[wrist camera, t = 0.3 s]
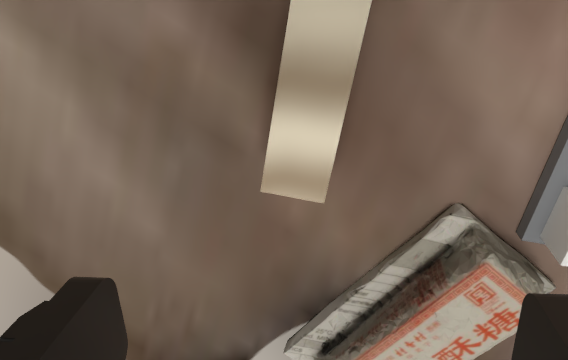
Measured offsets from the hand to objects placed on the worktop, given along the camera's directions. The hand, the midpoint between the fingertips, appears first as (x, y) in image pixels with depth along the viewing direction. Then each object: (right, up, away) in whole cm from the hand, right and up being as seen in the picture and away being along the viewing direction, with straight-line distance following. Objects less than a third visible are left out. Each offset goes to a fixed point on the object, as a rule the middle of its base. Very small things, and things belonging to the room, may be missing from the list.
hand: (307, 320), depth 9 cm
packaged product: (+9, -7, +26) cm, 29 cm away
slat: (+1, +10, +18) cm, 21 cm away
